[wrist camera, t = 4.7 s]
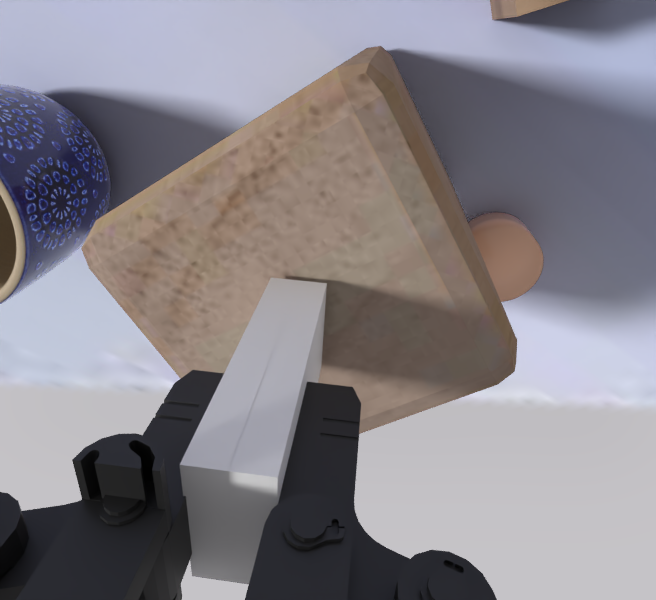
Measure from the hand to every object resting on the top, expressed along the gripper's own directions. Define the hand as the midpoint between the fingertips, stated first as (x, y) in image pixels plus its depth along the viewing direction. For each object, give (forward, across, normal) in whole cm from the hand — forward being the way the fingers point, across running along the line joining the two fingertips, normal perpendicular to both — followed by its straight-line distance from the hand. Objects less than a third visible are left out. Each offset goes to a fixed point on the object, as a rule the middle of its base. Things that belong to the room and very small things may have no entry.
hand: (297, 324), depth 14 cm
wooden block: (+21, 0, 0) cm, 21 cm away
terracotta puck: (+20, +10, -5) cm, 23 cm away
